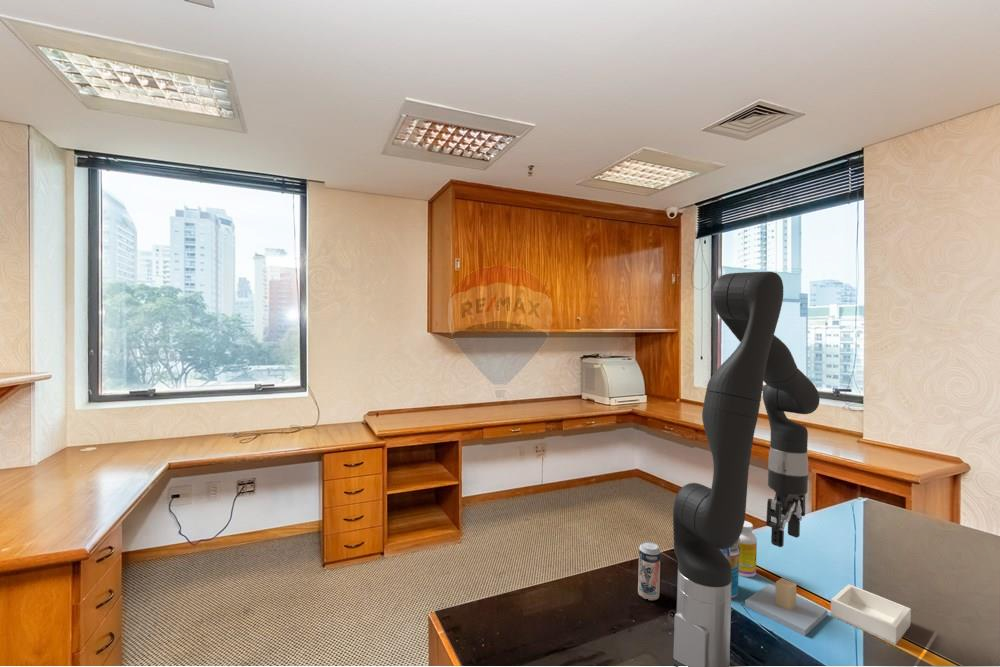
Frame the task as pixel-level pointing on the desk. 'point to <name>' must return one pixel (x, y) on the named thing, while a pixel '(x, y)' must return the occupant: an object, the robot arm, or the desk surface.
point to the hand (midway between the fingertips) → (785, 540)
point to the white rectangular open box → (871, 613)
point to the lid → (786, 607)
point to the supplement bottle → (747, 551)
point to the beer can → (649, 571)
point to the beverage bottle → (733, 565)
